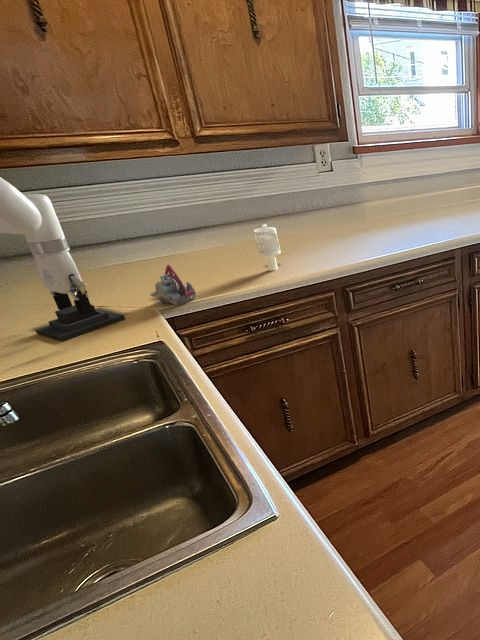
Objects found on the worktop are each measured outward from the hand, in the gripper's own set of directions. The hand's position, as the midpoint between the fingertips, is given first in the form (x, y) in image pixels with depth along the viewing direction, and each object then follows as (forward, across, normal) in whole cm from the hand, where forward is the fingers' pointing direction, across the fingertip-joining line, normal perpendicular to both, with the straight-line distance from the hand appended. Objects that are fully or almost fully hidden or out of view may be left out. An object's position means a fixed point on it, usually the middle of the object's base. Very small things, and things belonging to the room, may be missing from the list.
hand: (75, 310), depth 136 cm
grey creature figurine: (+5, +7, +23) cm, 24 cm away
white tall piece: (+5, +9, +58) cm, 59 cm away
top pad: (+3, 0, 0) cm, 3 cm away
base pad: (+4, 0, 0) cm, 4 cm away
